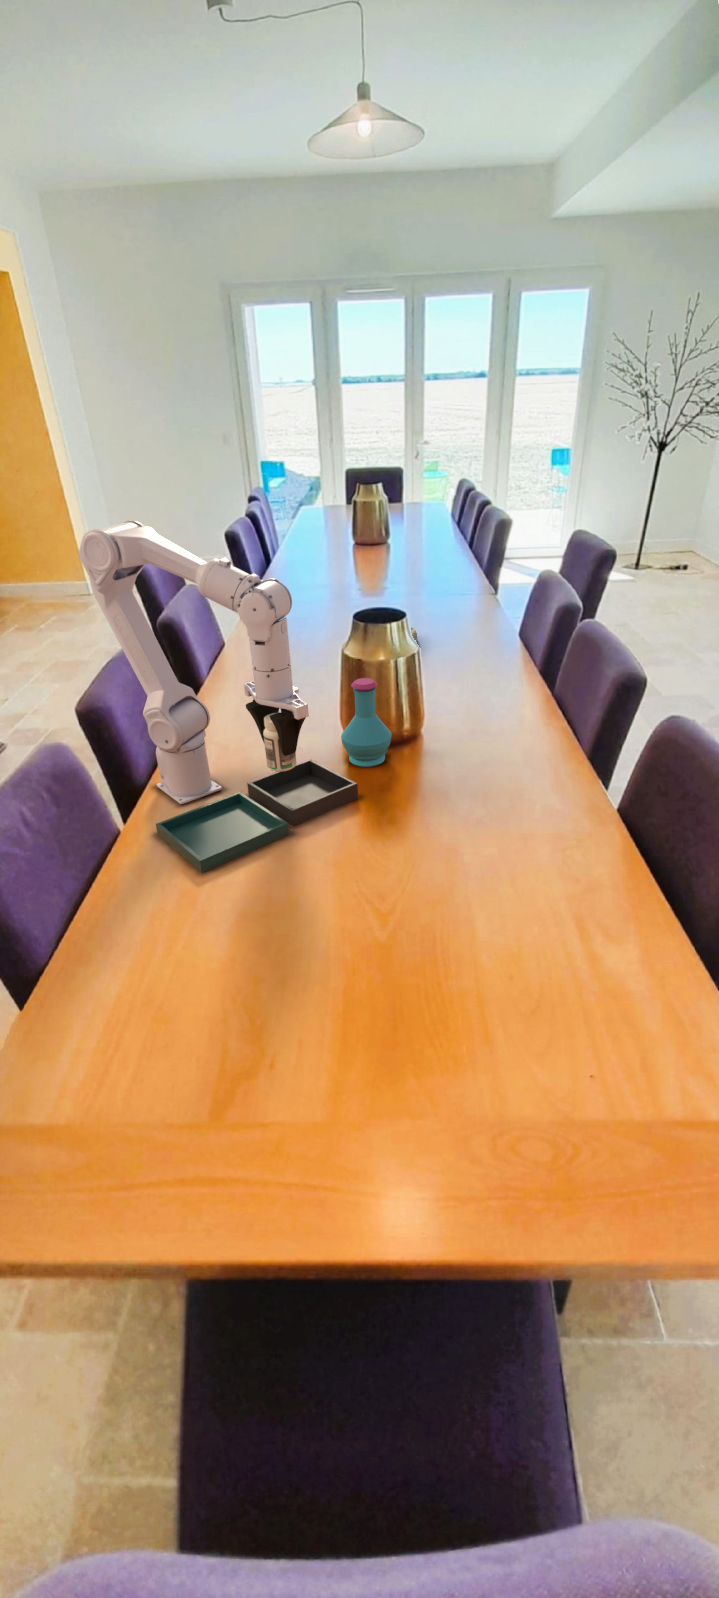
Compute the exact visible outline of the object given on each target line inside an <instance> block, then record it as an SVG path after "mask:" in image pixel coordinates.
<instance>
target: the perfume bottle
mask: <svg viewBox="0 0 719 1598" xmlns="http://www.w3.org/2000/svg"><path fill="white" fill-rule="evenodd" d="M350 686H351V688H353V689H352V691H353V692H354V710H355V713H354V714H355V715H354V716H353V717H352V719H351V720H350V722H349V723H348V725H346V727H345V729H344V730H343V731H342V733H341V735H340V738H341V743H342V746H343V748H344V749H345V752H346V754H347V756H348V758H349V762H350V763H351V764H352V765H354V766H358V767H364V768H365V767H374V766H378V765H381V764H382V763H383V762H384V761H385V760H386V754H387V753H388V749H389V747H390V745H391V742H392V732H391V730H390V729H389V728H388V727H387V726H386V725H385V723H384V722H383V721H382V720H381V718H380V717H379V716H378V715H377V713H376V693H375V692H376V687H377V686H378V683H377V682H376V681H375V680H374V679H373V678H369V677H361V678H357V679H355V680H354V681H353V682H352V683H351V684H350Z"/></svg>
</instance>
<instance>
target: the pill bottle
mask: <svg viewBox="0 0 719 1598" xmlns="http://www.w3.org/2000/svg"><path fill="white" fill-rule="evenodd" d="M273 714H276V713H272V714H269V715H266V716H265V717H264V725H265V729H264V731H263V736H264V742H263V744H264V743H265V744H264V749H265V750H264V751H265V757H266V765H267V768H268V769H269V770H270V771H273V772H277V771H278V772H282V771H288V770H290V769H292V768H294V767H295V766H296V764H297V755H296V753H297V752H295V753H292V754H290V755H287V756H285V755H283V753H282V751H281V747H280V742H279V737H278V734H277V731H276V728H275V726H274V724H273V722H272V721H271V719H270V715H273Z"/></svg>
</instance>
